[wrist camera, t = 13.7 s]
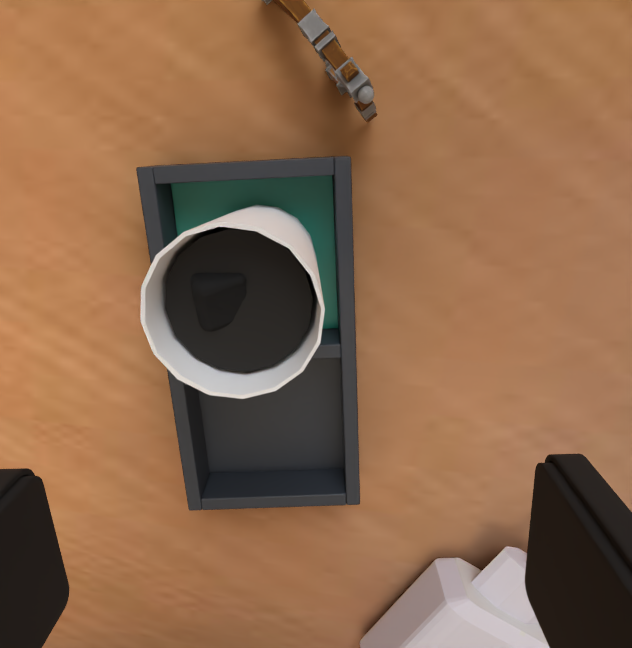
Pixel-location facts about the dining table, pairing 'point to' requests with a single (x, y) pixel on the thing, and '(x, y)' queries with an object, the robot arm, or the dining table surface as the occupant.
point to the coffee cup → (235, 303)
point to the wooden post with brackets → (332, 56)
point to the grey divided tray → (302, 391)
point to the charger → (462, 608)
